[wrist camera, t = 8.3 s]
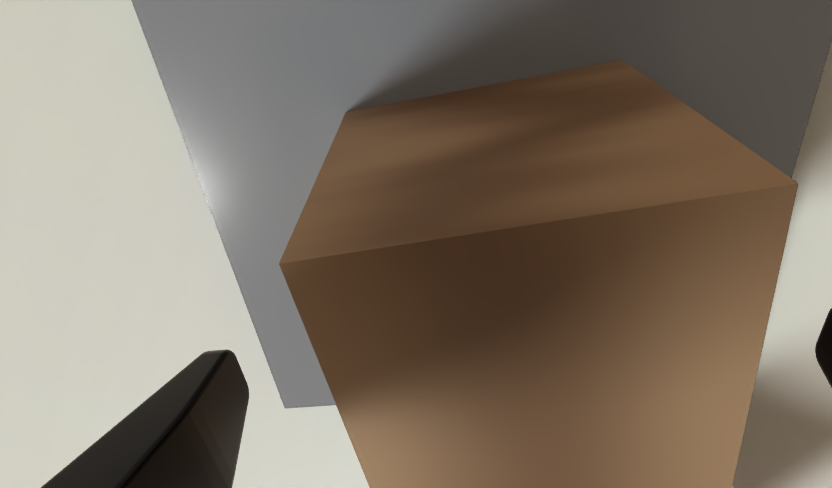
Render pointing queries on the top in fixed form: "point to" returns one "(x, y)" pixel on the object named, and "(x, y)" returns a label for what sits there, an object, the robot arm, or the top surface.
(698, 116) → the walnut cube
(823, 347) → the robot arm
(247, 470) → the top surface
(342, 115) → the trivet
